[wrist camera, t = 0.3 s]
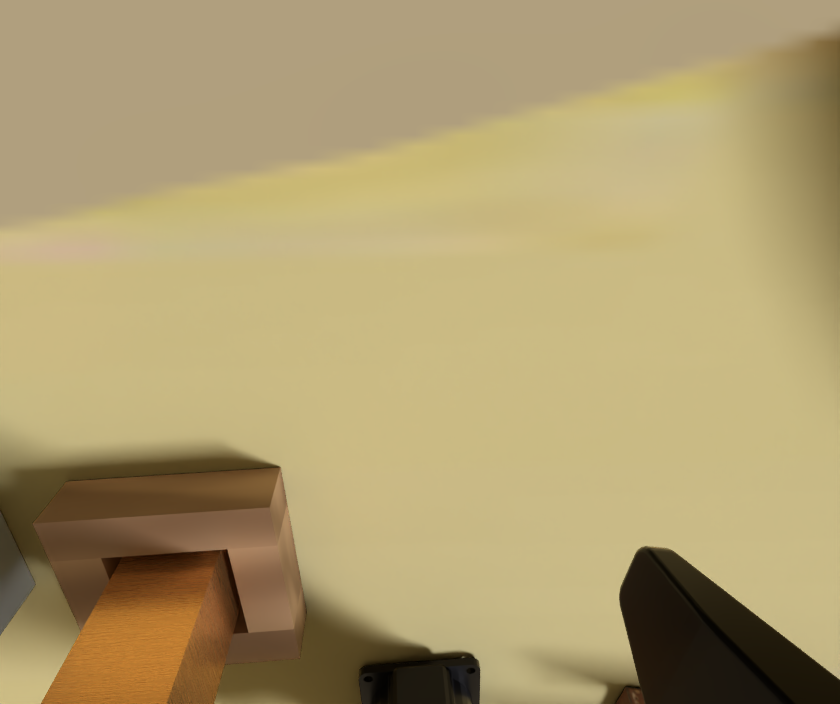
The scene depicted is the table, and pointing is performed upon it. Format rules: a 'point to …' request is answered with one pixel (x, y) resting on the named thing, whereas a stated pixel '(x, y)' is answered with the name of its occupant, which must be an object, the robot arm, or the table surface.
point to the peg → (154, 633)
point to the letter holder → (631, 696)
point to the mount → (185, 545)
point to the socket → (11, 576)
